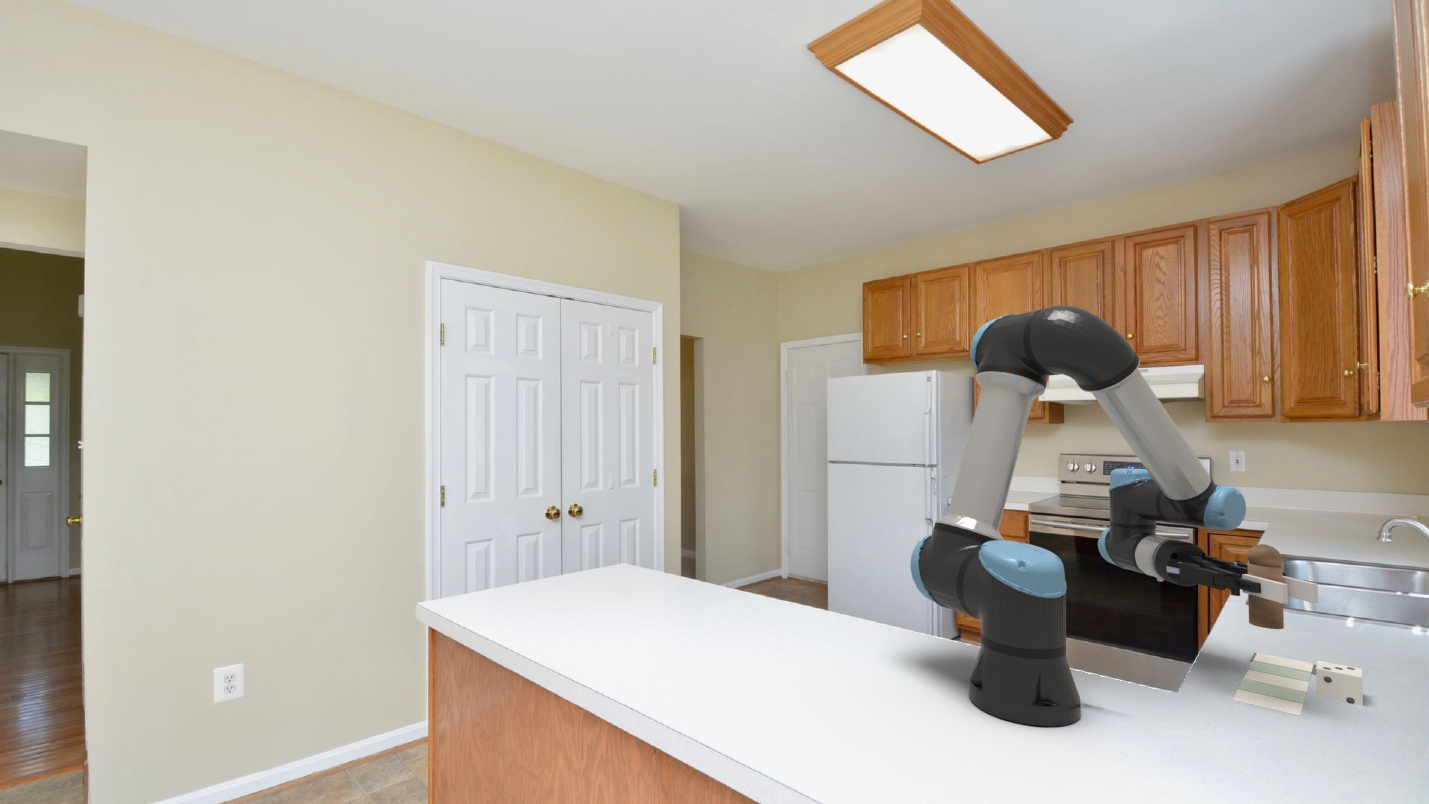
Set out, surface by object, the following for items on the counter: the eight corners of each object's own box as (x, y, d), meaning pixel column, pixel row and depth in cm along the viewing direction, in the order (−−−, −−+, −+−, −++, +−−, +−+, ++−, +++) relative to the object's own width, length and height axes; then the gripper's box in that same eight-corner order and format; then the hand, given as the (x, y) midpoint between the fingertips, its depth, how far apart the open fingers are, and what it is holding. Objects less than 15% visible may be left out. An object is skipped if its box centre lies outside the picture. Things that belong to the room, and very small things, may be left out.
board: (1228, 704, 98) (1228, 699, 98) (1254, 656, 119) (1254, 651, 119) (1304, 722, 92) (1303, 717, 92) (1317, 668, 113) (1316, 663, 113)
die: (1316, 701, 100) (1315, 668, 100) (1318, 692, 103) (1317, 659, 103) (1363, 712, 96) (1361, 676, 96) (1363, 701, 100) (1361, 668, 100)
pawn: (1247, 624, 98) (1245, 544, 99) (1250, 619, 101) (1248, 541, 101) (1282, 630, 95) (1280, 547, 96) (1285, 625, 98) (1282, 544, 98)
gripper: (1217, 581, 117) (1356, 619, 93) (1127, 582, 115) (1245, 621, 92) (1216, 539, 117) (1354, 566, 94) (1126, 539, 116) (1244, 567, 92)
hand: (1300, 593), depth 93 cm, fingers closed on pawn, 4 cm apart
